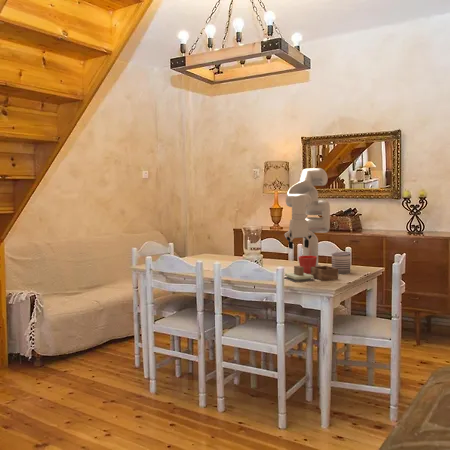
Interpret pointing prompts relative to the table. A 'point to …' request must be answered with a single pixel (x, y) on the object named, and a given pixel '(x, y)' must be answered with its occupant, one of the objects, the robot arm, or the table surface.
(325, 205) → the robot arm
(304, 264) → the flower pot
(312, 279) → the mat
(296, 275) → the lid
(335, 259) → the can
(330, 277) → the box
